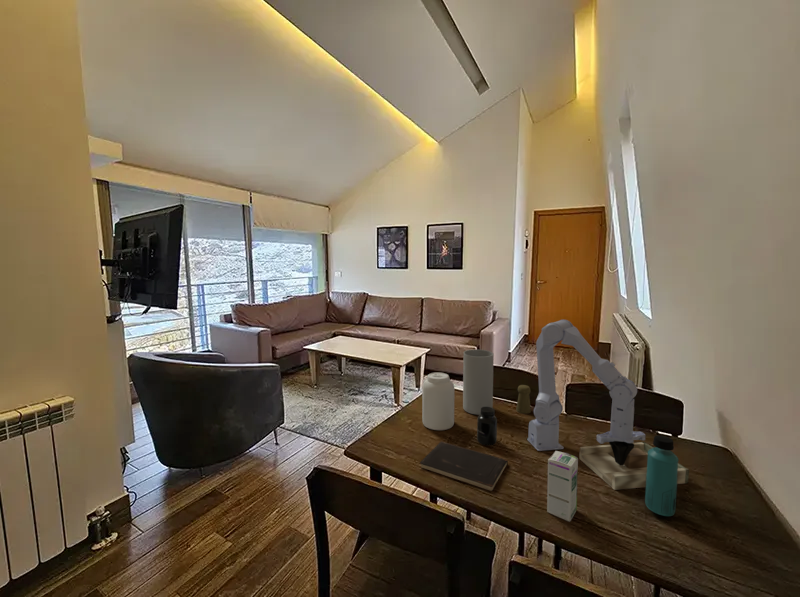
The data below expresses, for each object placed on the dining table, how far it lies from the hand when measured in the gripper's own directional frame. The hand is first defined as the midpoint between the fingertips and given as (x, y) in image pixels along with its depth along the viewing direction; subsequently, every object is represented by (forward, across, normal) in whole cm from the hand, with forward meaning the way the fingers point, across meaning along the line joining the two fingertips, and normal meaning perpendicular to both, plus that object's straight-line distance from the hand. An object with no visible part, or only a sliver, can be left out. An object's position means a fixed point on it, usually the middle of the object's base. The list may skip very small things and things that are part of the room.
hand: (619, 463), depth 109 cm
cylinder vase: (+3, -27, +50) cm, 57 cm away
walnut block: (+1, +5, 0) cm, 5 cm away
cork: (+3, -8, +46) cm, 47 cm away
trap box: (+2, +3, 0) cm, 4 cm away
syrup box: (+3, -27, -14) cm, 31 cm away
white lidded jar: (+3, -47, +39) cm, 61 cm away
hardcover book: (+3, -46, +9) cm, 47 cm away
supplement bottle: (+3, -33, +23) cm, 40 cm away
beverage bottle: (+3, -3, -18) cm, 18 cm away
